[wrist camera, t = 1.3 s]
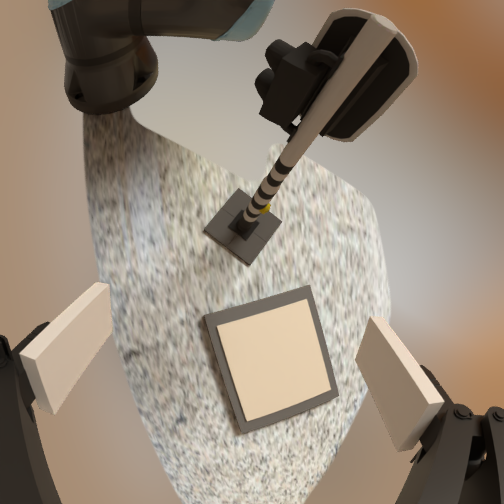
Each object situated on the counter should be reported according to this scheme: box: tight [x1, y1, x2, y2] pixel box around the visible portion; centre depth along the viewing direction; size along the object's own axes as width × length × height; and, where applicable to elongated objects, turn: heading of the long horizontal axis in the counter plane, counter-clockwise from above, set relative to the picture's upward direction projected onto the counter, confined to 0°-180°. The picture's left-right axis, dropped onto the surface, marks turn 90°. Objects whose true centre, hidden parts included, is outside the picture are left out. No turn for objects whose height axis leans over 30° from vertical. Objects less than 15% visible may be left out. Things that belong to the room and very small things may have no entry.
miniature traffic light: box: [204, 8, 418, 265], centre depth 23 cm, size 8×8×30 cm
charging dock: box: [204, 285, 339, 433], centre depth 34 cm, size 15×13×2 cm
